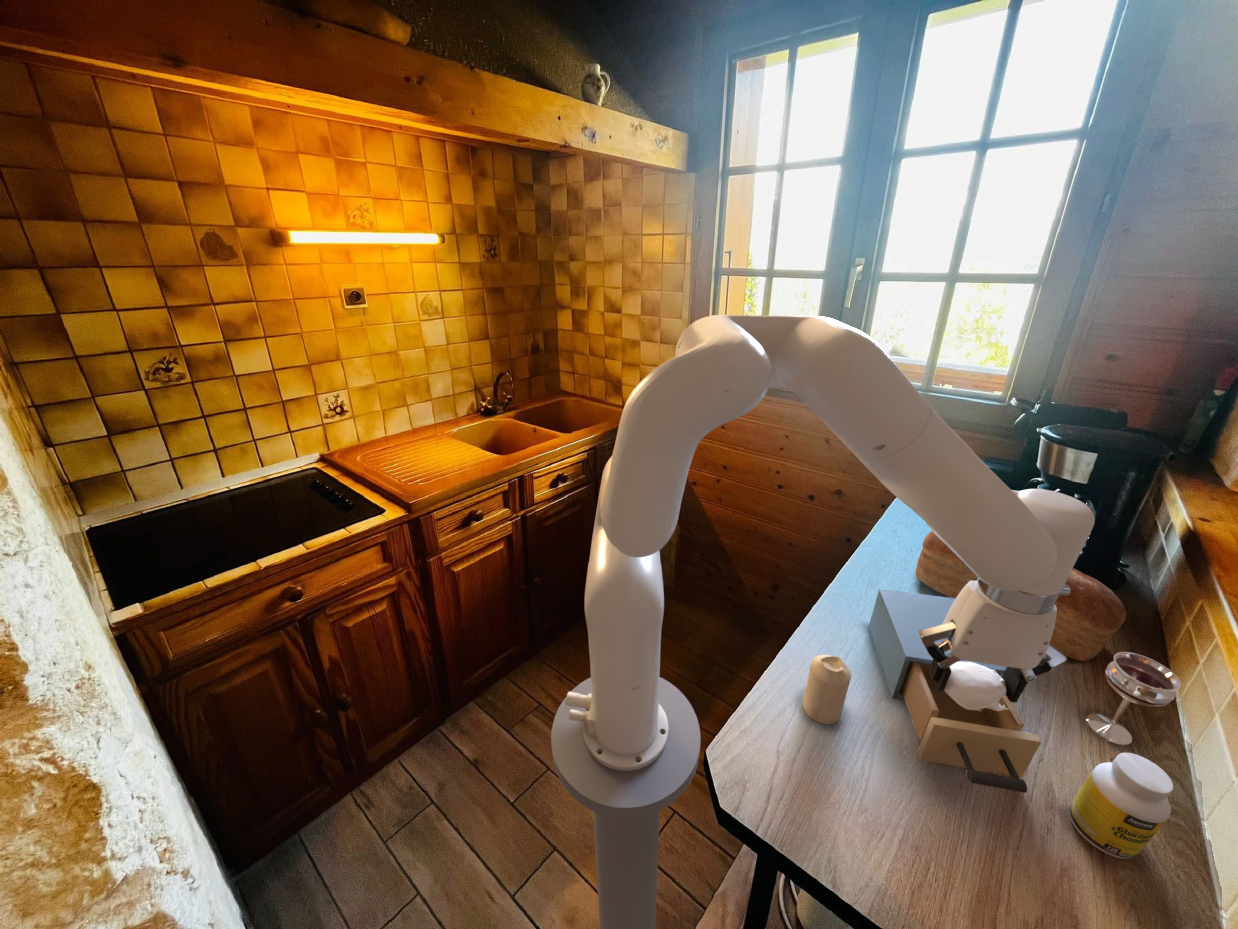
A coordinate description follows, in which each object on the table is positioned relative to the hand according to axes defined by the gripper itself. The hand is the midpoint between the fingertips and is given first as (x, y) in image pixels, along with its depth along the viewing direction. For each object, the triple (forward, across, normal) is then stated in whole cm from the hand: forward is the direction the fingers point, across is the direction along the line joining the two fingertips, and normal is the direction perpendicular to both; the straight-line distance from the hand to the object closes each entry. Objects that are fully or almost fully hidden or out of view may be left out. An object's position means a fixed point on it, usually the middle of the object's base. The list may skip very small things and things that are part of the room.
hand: (971, 687), depth 67 cm
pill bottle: (+10, -13, +10) cm, 20 cm away
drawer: (+9, 0, +1) cm, 9 cm away
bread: (+10, -19, -31) cm, 38 cm away
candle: (+11, +18, -1) cm, 21 cm away
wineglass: (+10, -23, -6) cm, 26 cm away
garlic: (+1, 0, 0) cm, 1 cm away
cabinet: (+10, 0, -13) cm, 17 cm away
